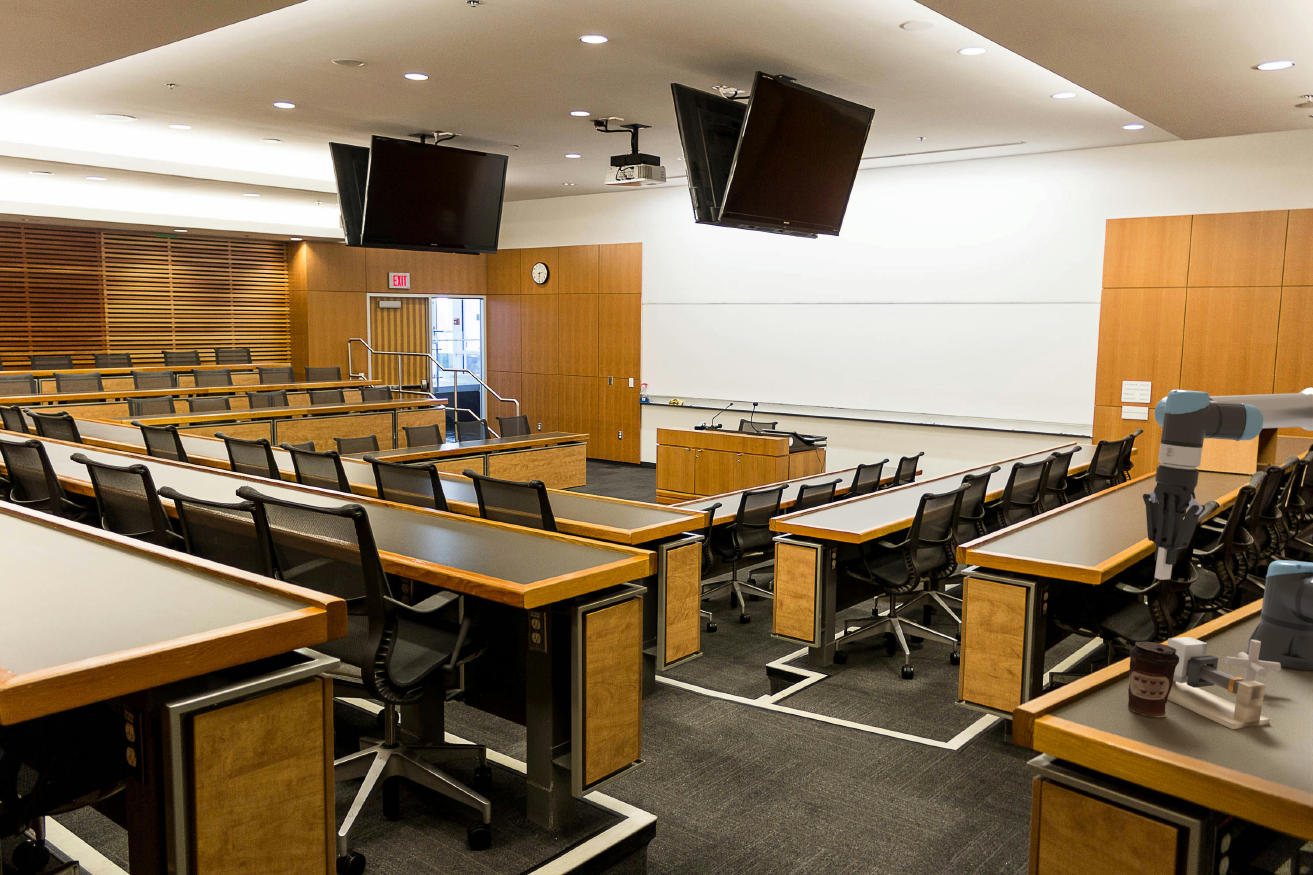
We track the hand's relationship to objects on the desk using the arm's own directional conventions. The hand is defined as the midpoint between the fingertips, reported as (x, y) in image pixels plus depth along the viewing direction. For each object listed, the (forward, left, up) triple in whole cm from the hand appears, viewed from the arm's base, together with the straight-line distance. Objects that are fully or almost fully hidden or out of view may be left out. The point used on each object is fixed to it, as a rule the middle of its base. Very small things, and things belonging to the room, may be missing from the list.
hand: (1162, 578), depth 191 cm
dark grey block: (0, +11, -18) cm, 22 cm away
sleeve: (0, +8, -19) cm, 20 cm away
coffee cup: (+15, +13, -22) cm, 30 cm away
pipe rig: (0, +13, -22) cm, 25 cm away
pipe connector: (-20, +8, -22) cm, 31 cm away
